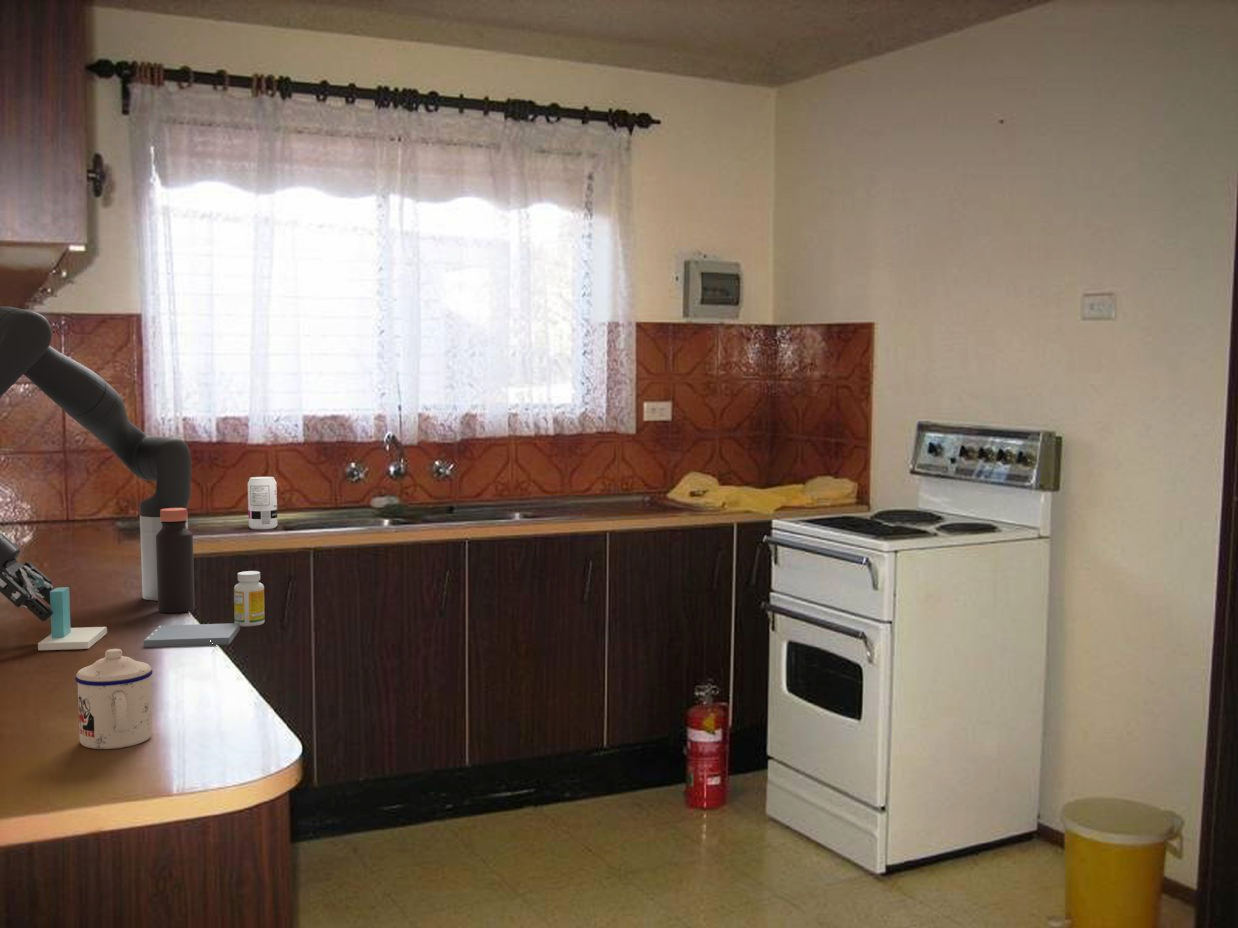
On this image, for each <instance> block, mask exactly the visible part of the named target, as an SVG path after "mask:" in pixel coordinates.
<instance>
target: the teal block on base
mask: <svg viewBox="0 0 1238 928" xmlns="http://www.w3.org/2000/svg"><path fill="white" fill-rule="evenodd" d="M70 601H71V600H70V587H69V586H68V587H66V586H65V587H63V586H62V587H55V588H54V590H52V591H50V605H49V608H50V609H51V610H52V611H53V614H52V615H51V616H50V628H51V629H50V632H51V633H50V634H49V635H47V636H46V637H44V638H43V639H42V640H40V641H39V642H38V643H37V649H38V651H56V650H60V651H61V650H62V651H63V650H83V649H84V650H85V649H86V650H87V649H90V648H91V647H92V646H94V645H95V644H96V643H97V642H98V641H100V640H101V639H102V638H104V636H106V635H107V634H108V628H107V626H89V627H87V626H86V627H85V626H84V627H71V609H70V607H71V604H70V603H71V602H70Z"/></svg>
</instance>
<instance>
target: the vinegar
mask: <svg viewBox="0 0 1238 928" xmlns="http://www.w3.org/2000/svg"><path fill="white" fill-rule="evenodd" d="M187 516H188V508H187V509H186V508H166V509H161V510H160V520H161V521H162V522H161V523H162V529H161V530H160V531H159V532H158V534H157V535H156V557H157V588H158V600H157V609H158V612H159V613H161V614H167V615H168V614H170V615H171V614H172V615H173V614H176V615H177V614H183V613H189V612H192V611H194V610H195V608H196V606H195V605H196V603H195V573H194V572H195V571H194V570H195V569H194V568H195V567H194V565H195V564H194V540H193V539H194V537H193V535H194V534H193V533H192V532H191V530H190V529H189V528H188V529H187V528H186V522H187V521H186V520H187Z"/></svg>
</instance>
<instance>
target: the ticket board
mask: <svg viewBox="0 0 1238 928" xmlns="http://www.w3.org/2000/svg"><path fill="white" fill-rule="evenodd" d="M240 630H241V626H240V623H235V622H233V623H229V622H228V623H202V624H201V623H200V624H198V623H197V624H171V625H168V624H167V625H158V626H157V627H156V628H155V629H154V630H153V631H152V632H151V633H150V634H148V636H147V637H145V639H143V647H144V648H161V647H187V646H193V647H194V646H216V645H217V646H222V645H230V644H231V643H232V641H233V640H234V638H235V637H236V636H237V635H238V633H239V632H240ZM210 640H211V642H210ZM212 643H213V644H214V645H212Z"/></svg>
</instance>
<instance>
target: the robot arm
mask: <svg viewBox="0 0 1238 928" xmlns="http://www.w3.org/2000/svg"><path fill="white" fill-rule="evenodd" d="M52 331H53V330H52V327H51V324H50V322H49V320H48V319H47V318H46V317H45V316H44V315H42V314H41V313H38V312H35V311H33V310H28V309H24V308H18V307H15V306H9V305H8V306H0V398H2V397H3V396H4V395H5V393H6V392H7V391H8V390H9V389H10V388H11V387H12V386H14V384H15V383H16V382H17V381H18V380H19V379H20V378H22V376H24V377H26V378H28V380H29V381H31V382H32V383H33V384H34V385H35V386H36V387H37V388H38V389H39V390H40V391H41V392H43V393H44V395H46V396H47V397H48V398H49V399H50V400H52V402H54V403H55V404H56V405H57V406H58V407H59V408H60V409H62V410H63V412H65V413H66V414H67V415H68V416H69V417H71V418H72V419H73V420H74V421H75V422H77V423H78V424H80V426H82V427H83V428H84V429H85V430H87V431H88V432H89V433H91V434H92V435H93V436H94V437H95V438H97V439H98V441H100V442H101V443H103V444H104V445H105V446H106V447H108V448H109V450H111V451H112V452H113V453H114V454H115V456H116V457H117V458H118V459H119V460H120V462H122V463H123V464H124V465H125V466H126V468H127V469H128V470H129V471H130V472H132V474H134V475H135V476H136V477H137V478H139V479H141V480H144V481H149V482H155V483H156V484H155V491H154V493H153V494H152V495H151V496H150V497H148V498H146V499H144V500H142V501H140V503H139V529H140V532H139V533H140V556H141V557H140V561H141V564H140V565H141V591H142V599H143V600H145V601H146V600H147V601H158V588H157V557H156V535H157V534H158V532H159V531H160V530H161V529H162V523H161V522H162V521H161V520H160V510H161V509H166V508H186V509H187V510H188V507H189V506H188V505H189V504H190V500H191V495H192V488H191V487H192V455H191V451H190V448H189V446H188V444H187V443H186V441H184V440H183V439H182V438H180V437H179V438H178V437H173V436H171V437H170V436H152V435H149V434H147V433H146V432H144V431H143V430H141V429H139V427H137V426H136V425H135V424H133V423H132V422H131V420H130V419H129V418H128V415H127V411H126V406H125V402H124V399H122V397H121V395H120V393H118V391H117V390H115V388H113V387H112V386H111V384H109V383H108V382H107V381H106V380H105V379H104V378H103V377H102V376H100V375H99V374H97V373H96V372H95V371H94V370H91V369H90V368H89V367H87V366H85V365H83V364H81V363H80V362H78V361H76V360H74V359H73V358H71V357H69V356H67V355H65V354H63V353H61V351H58V350H57V349H55V348H54V347H52V346H51V343H52V338H53V332H52ZM186 521H187V522H186V528H187V529H188V530H189V523H188V522H189V520H188V515H187V520H186ZM20 555H21V549H20V548H19V547H18V546H17V545H15V543H13V542H12V541H11V540H10V539H9V538H8V537H6V535H5V534H3V533H2V532H1V531H0V593H1V594H2V595H3V596H4V597H5V598H6V599H8V600H9V601H10V602H11V603H12V604H13V605H14V606H15V607H17V608H20V607H22V608H24V609H28V610H29V611H30V612H31V613H32V614H34V616H36V617H37V618H38V619H39V620H41V622H46V621H48V620H49V618H51V615H52V614H53V611H52V610H51V609H50V591H52V590H54V589H55V588H54V586H53V585H54V581H53V580H51V579H50V578H49V577H48V576H47V575H46V574H45V573H43V572H42V571H41V570H40V569H39V568H37V567H36V566H35V565H34V564H32V562H30V561H29V560H26V561H25V562H24V563H23V564H22V563H20V562H19V561H18V560H17V558H19V556H20ZM53 588H54V589H53ZM36 595H37V596H38V597H37V596H36ZM39 597H40V598H42V599H43V601H45V602H46V603H47V604H48V605H49V606H48V605H47V604H45V602H43V601H42V600H41V599H40V598H39Z"/></svg>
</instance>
